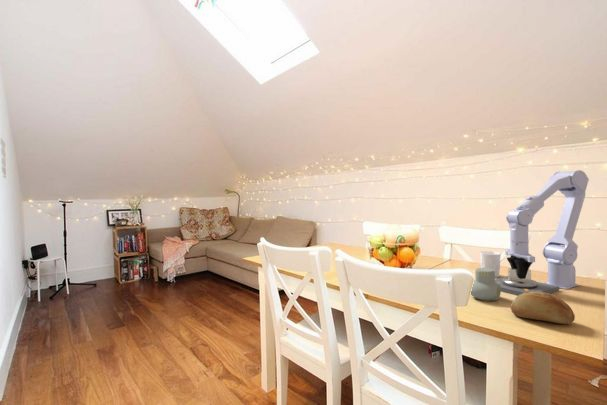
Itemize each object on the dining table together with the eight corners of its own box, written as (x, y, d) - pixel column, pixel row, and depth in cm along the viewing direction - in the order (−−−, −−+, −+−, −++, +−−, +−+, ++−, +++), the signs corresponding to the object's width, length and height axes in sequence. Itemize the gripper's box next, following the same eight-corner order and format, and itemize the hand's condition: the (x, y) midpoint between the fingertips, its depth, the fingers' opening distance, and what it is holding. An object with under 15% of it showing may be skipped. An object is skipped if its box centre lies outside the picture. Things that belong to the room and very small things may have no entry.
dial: (530, 280, 129) (530, 266, 129) (542, 289, 118) (542, 273, 118) (498, 279, 132) (498, 265, 132) (507, 287, 122) (507, 272, 121)
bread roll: (575, 332, 87) (575, 302, 87) (508, 320, 96) (508, 292, 96) (574, 320, 95) (574, 292, 94) (512, 310, 104) (512, 284, 103)
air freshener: (495, 305, 108) (495, 274, 108) (467, 300, 114) (467, 271, 113) (501, 296, 117) (501, 268, 116) (476, 292, 122) (475, 265, 122)
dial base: (509, 279, 137) (509, 275, 137) (559, 290, 122) (559, 285, 122) (482, 286, 129) (481, 282, 129) (532, 299, 113) (532, 294, 113)
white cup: (481, 272, 150) (481, 250, 150) (501, 274, 145) (501, 252, 145) (478, 276, 144) (478, 253, 143) (499, 278, 139) (499, 255, 139)
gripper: (497, 239, 132) (497, 272, 132) (520, 244, 118) (521, 282, 118) (515, 238, 132) (515, 272, 132) (541, 244, 117) (541, 282, 118)
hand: (519, 277), depth 125 cm, fingers closed on dial, 2 cm apart
